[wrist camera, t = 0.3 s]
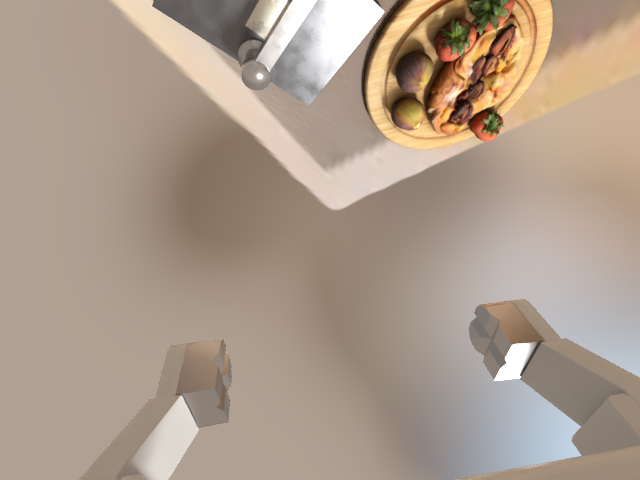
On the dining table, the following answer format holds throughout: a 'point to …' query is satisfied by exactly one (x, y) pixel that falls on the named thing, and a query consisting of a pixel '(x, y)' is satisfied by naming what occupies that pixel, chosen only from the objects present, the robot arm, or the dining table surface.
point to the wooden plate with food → (454, 68)
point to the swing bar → (274, 44)
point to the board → (303, 49)
